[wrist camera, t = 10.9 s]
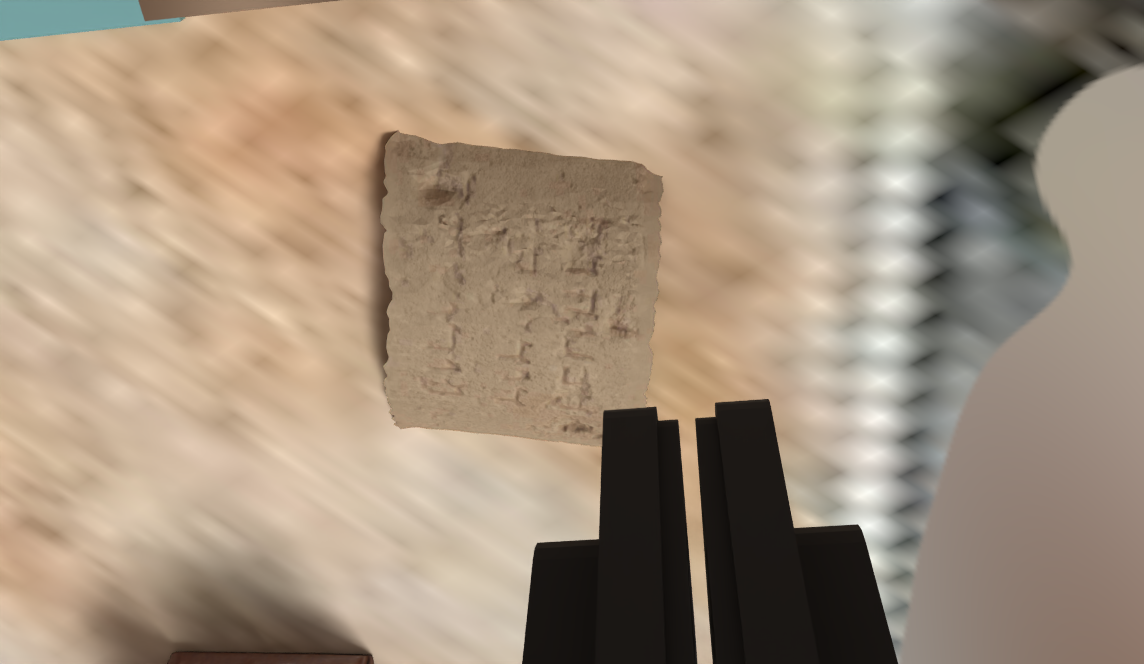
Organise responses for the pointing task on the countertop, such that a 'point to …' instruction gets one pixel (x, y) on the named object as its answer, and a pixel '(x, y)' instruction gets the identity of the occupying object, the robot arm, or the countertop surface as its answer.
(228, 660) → the letter holder
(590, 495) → the countertop surface
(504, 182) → the clay tablet
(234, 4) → the brown flat block
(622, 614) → the robot arm
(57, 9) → the mat
